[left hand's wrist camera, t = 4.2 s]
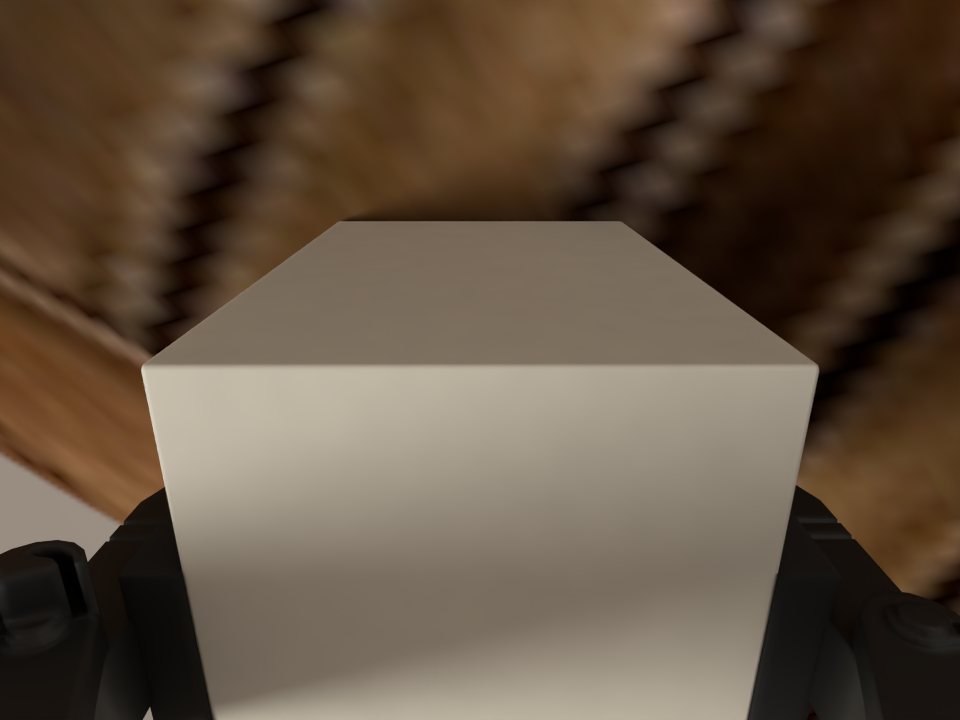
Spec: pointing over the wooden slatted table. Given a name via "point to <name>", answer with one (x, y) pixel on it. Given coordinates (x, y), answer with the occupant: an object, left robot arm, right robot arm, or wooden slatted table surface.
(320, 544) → the brick
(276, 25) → the wooden slatted table surface
